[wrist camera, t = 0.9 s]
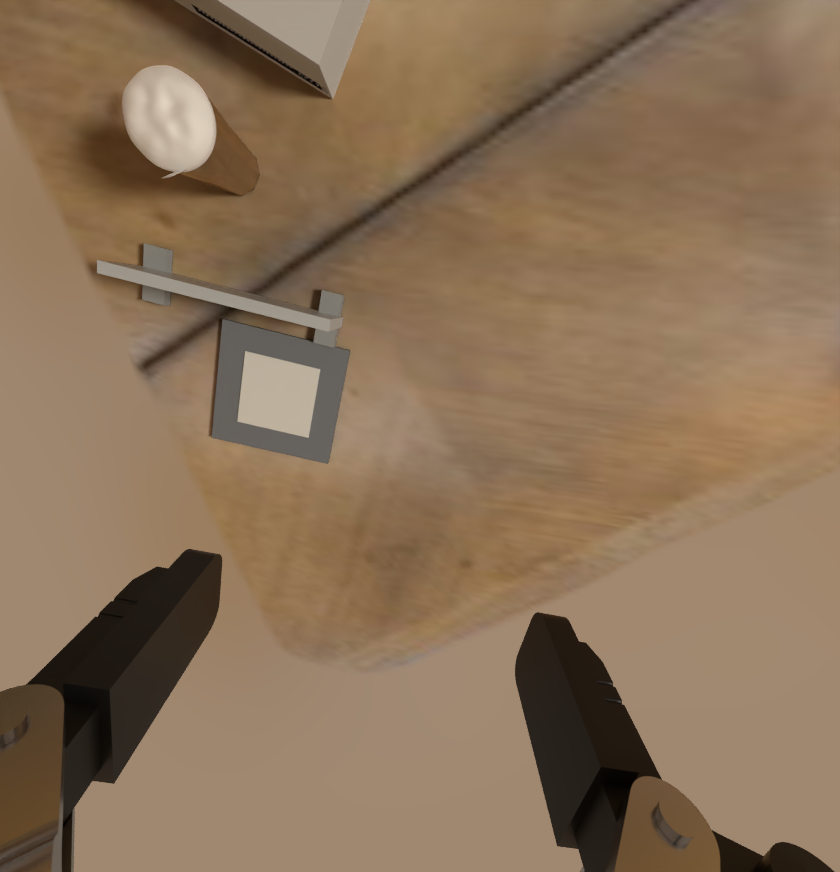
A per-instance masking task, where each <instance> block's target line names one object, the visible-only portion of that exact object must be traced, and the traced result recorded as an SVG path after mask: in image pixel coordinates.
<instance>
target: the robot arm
mask: <svg viewBox="0 0 840 872" xmlns="http://www.w3.org/2000/svg"><path fill="white" fill-rule="evenodd" d="M221 571H222V557H221V555H220V554H215V553H209V552H203V551H198V550H192V549H188V550H186V551H184V552H183V553H182V554H181V556H180V557H179V558H178V559H177V560H176V561H175V562H174V563H173V564H172V565H171V566H170V567H169V568H168V569H167V568H162V567H155V568H154V569H152V570H150V571H148V572H146V573H144V574H143V575H141V576H139V577H137V578H135V579H133V580H132V581H131V582H130V583H129V584H128V585H127V586H126V587H125V588H124V589H123V590H122V591H121V592H120V593H119V594H118V595H117V596H116V597H115V599H114V601H111V602H110V603H109V604H108V605H107V606H106V607H105V608H104V609H103V610H102V611H101V612H100V613H99V616H98V617H95V618H94V619H93V620H92V621H91V622H90V623H89V624H88V625H87V626H86V627H85V628H84V629H82V631H80V633H78V634H77V636H75V637H74V639H72V640H71V641H70V642H69V643H68V644H67V645H66V646H65V647H64V648H63V649H62V650H61V651H60V652H59V653H58V654H57V655H56V656H55V657H54V658H53V659H52V660H51V661H50V662H49V663H48V664H47V665H46V666H45V667H44V668H43V669H42V670H41V671H40V672H39V673H38V674H37V675H36V676H35V677H34V678H33V679H32V680H31V681H29V682H28V684H26V685H23V686H18V687H14V688H10V689H7V690H4V691H1V692H0V872H74V823H75V822H74V821H75V809H74V807H75V806H76V804H77V803H78V801H79V800H80V798H81V797H82V795H83V794H84V792H85V791H86V789H87V788H88V786H89V785H90V783H91V782H92V781H99V782H106V783H115V781H116V780H117V778H118V776H119V775H120V773H121V772H122V770H123V768H124V767H125V765H126V764H127V762H128V760H129V759H130V757H131V756H132V754H133V752H134V751H135V749H136V748H137V746H138V744H139V743H140V741H141V740H142V738H143V736H144V735H145V733H146V732H147V730H148V729H149V727H150V725H151V724H152V722H153V721H154V719H155V717H156V716H157V714H158V713H159V711H160V709H161V708H162V706H163V704H164V703H165V701H166V700H167V698H168V697H169V695H170V693H171V692H172V690H173V689H174V687H175V686H176V684H177V682H178V681H179V679H180V678H181V676H182V674H183V673H184V671H185V670H186V668H187V666H188V665H189V663H190V661H191V660H192V658H193V657H194V655H195V653H196V652H197V650H198V649H199V647H200V646H201V644H202V643H203V641H204V639H205V638H206V636H207V635H208V633H209V631H210V629H211V628H212V625H213V623H214V621H215V618H216V615H217V612H218V608H219V600H220V586H221ZM515 677H516V684H517V688H518V692H519V696H520V700H521V704H522V708H523V712H524V716H525V720H526V724H527V728H528V732H529V736H530V740H531V744H532V748H533V751H534V756H535V759H536V764H537V768H538V771H539V775H540V779H541V783H542V787H543V791H544V795H545V799H546V803H547V807H548V811H549V815H550V819H551V823H552V827H553V831H554V835H555V839H556V843H557V846H560V847H568V848H576V849H579V853H580V856H581V860H582V863H583V867H582V869H581V871H580V872H834V871H833V870H832V869H831V868H830V867H828V866H827V865H826V864H825V863H823V862H822V861H821V860H820V859H818V858H817V857H815V856H814V855H813V854H811V853H810V852H808V851H806V850H805V849H803V848H801V847H798V846H796V845H793V844H790V843H786V842H780V843H776V844H775V845H773V846H772V847H771V849H770V850H769V851H768V852H767V853H766V855H765V856H762V855H760V854H757V853H756V852H754V851H751V850H750V849H748V848H746V847H744V846H742V845H740V844H738V843H736V842H734V841H732V840H730V839H727V838H726V837H724V836H722V835H720V834H718V833H716V832H714V831H713V830H711V828H710V826H709V824H708V823H707V821H706V820H705V818H704V817H703V815H702V814H701V813H700V811H699V810H698V809H697V807H696V806H695V805H694V804H693V803H692V802H691V801H690V800H689V799H688V798H687V797H686V796H685V795H684V794H683V793H681V792H680V791H679V790H678V789H677V788H675V787H674V786H672V785H671V784H669V783H667V782H665V781H663V780H662V779H661V777H660V775H659V773H658V771H657V769H656V767H655V765H654V763H653V761H652V759H651V757H650V755H649V753H648V751H647V749H646V747H645V745H644V743H643V741H642V739H641V737H640V735H639V733H638V731H637V729H636V728H635V726H634V724H633V721H632V719H631V717H630V716H629V714H628V712H627V710H626V708H625V706H624V705H622V700H621V698H620V696H619V694H618V692H617V690H616V688H615V687H613V682H612V680H611V678H610V676H609V674H608V672H607V670H606V668H605V666H604V664H603V662H602V661H601V660H600V659H599V657H598V656H597V655H596V654H595V653H594V652H593V650H592V649H591V648H590V647H589V646H588V645H587V644H586V643H584V642H579V641H578V639H577V637H576V634H575V632H574V630H573V628H572V626H571V624H570V622H569V620H568V619H567V618H565V617H560V616H555V615H549V614H543V613H535V614H534V615H533V617H532V619H531V622H530V624H529V627H528V630H527V632H526V635H525V637H524V640H523V642H522V645H521V647H520V650H519V653H518V655H517V659H516V665H515Z"/></svg>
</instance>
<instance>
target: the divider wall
mask: <svg viewBox="0 0 840 872" xmlns="http://www.w3.org/2000/svg"><path fill="white" fill-rule="evenodd" d="M172 258H173V250H169V249H165V248H161V247H158V246H154V245H150V244H145V243H144V255H143V266H139V265H131V264H124V263H116V262H109V261H101V260H97V273H99V274H103V275H107V276H111V277H115V278H118V279H122V280H126V281H130V282H134V283H138V284H142V285H143V288H142V300H145V301H149V302H153V303H157V304H161V305H170V297H171V292H174V293H178V294H182V295H186V296H189V297H193V298H197V299H201V300H205V301H209V302H213V303H217V304H221V305H225V306H229V307H233V308H237V309H241V310H245V311H249V312H253V313H257V314H261V315H264V316H268V317H272V318H276V319H280V320H284V321H288V322H292V323H296V324H300V325H304V326H308V327H312V328H316V329H315V336H314V342H313V343H317V344H321V345H325V346H329V347H333V348H334V347H336V341H337V336H338V330H339V328H341V327H342V323H343V317H341V314H342V308H343V303H344V297H345V295H341V294H337V293H333V292H329V291H325V290H322V293H321V299H320V305H319V311H318V310H314V309H310V308H306V307H302V306H298V305H294V304H291V303H287V302H283V301H279V300H275V299H271V298H267V297H263V296H259V295H256V294H252V293H248V292H244V291H240V290H236V289H232V288H228V287H224V286H221V285H217V284H213V283H209V282H205V281H201V280H197V279H193V278H190V277H186V276H182V275H178V274H174V273H172Z"/></svg>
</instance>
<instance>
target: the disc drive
mask: <svg viewBox="0 0 840 872" xmlns="http://www.w3.org/2000/svg"><path fill="white" fill-rule="evenodd" d="M174 1H176V2H177V3H179V4H180V5H182V6H184V7H185V8H187V9H188V10H190V11H192V12H193V13H195V14H196V15H198V16H200V17H201V18H203V19H204V20H206V21H208V22H209V23H211V24H213V25H214V26H216V27H217V28H219V29H221V30H222V31H224V32H225V33H227V34H229V35H230V36H232V37H233V38H235V39H237V40H238V41H240V42H241V43H243V44H245V45H246V46H248V47H249V48H251V49H253V50H254V51H256V52H257V53H259V54H261V55H262V56H264V57H265V58H267V59H269V60H270V61H272V62H273V63H275V64H277V65H278V66H280V67H281V68H283V69H285V70H286V71H288V72H290V73H291V74H293V75H294V76H296V77H298V78H299V79H301V80H302V81H304V82H306V83H307V84H309V85H310V86H312V87H314V88H315V89H317V90H318V91H320V92H322V93H323V94H325V95H326V96H328V97H330V98H331V99H333V98H334V95H335V93H336V90H337V87H338V85H339V82H340V79H341V77H342V74H343V72H344V69H345V66H346V64H347V61H348V58H349V56H350V53H351V50H352V48H353V45H354V43H355V40H356V37H357V35H358V32H359V29H360V27H361V24H362V21H363V19H364V16H365V14H366V11H367V8H368V6H369V3H370V0H174Z"/></svg>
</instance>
